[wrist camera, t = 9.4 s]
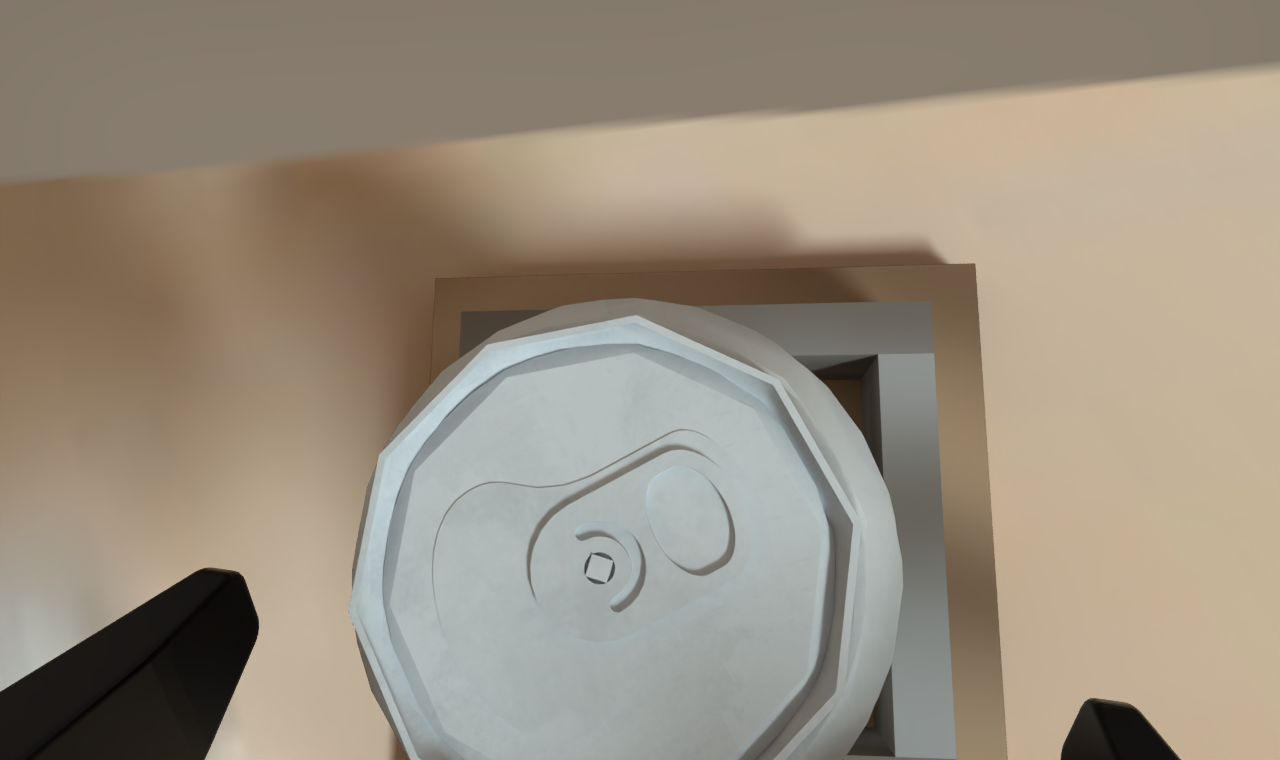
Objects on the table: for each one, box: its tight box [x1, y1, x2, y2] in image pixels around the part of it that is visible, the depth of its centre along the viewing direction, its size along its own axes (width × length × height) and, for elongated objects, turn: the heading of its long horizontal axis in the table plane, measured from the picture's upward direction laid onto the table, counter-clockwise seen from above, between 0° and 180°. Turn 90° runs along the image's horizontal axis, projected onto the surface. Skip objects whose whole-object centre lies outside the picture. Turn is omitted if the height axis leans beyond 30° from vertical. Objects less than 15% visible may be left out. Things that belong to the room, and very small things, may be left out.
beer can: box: [348, 298, 903, 760], centre depth 12 cm, size 5×5×12 cm
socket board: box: [409, 264, 1008, 760], centre depth 18 cm, size 12×12×4 cm
